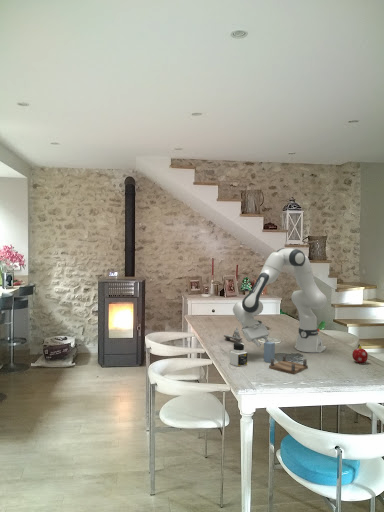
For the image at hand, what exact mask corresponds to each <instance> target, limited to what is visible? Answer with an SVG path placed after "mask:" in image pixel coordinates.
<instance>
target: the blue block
mask: <svg viewBox="0 0 384 512" xmlns="http://www.w3.org/2000/svg"><path fill="white" fill-rule="evenodd" d="M275 347H276V343H275V342H272V341H269V342H264V343H263V362H264V361H265V362H266V363H269V364H271V359H274V362H275V359H276V358H275V357H276V355H275V354H276V353H275V352H276V351H275V349H276V348H275Z"/></svg>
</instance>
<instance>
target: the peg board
mask: <svg viewBox="0 0 384 512" xmlns="http://www.w3.org/2000/svg"><path fill="white" fill-rule="evenodd" d="M302 361H303V362H302V363H298V362H293V361H289V360H287V354H282V360H281V361H277V362H275V361H274V359H271V363H270V365H269V366H268V369H269V370H270V369H271V370H274V371H279V372H283V373H287V374H291V375H295V374H298V373H300V372H302V371H304V370H307V369H308V368H309V366H308V364H307V363H308V362H307V361H308V360H307V359H306V358H304V359H302Z"/></svg>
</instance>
